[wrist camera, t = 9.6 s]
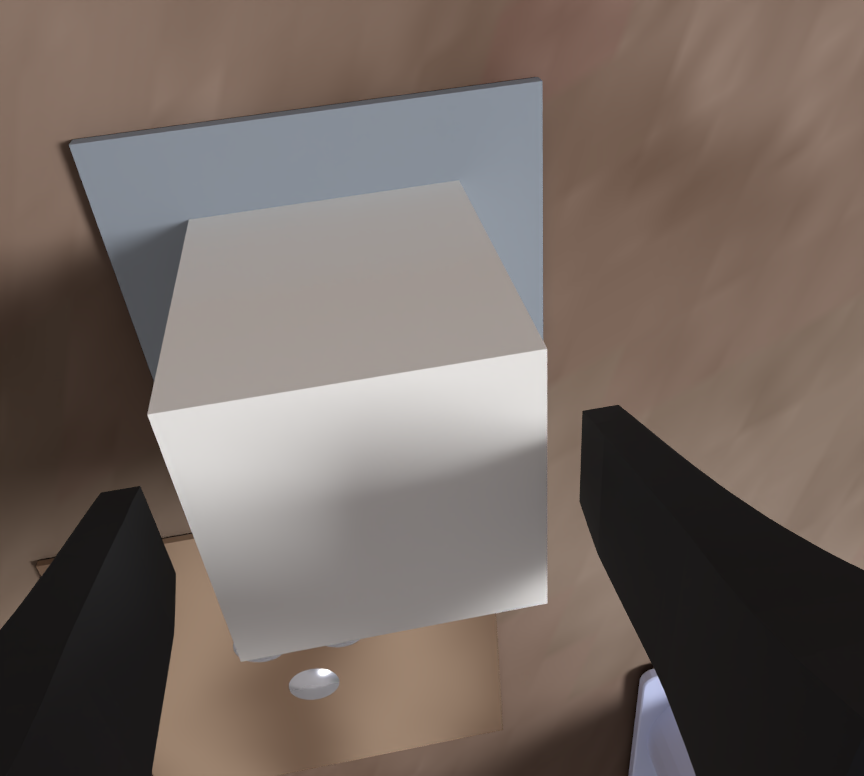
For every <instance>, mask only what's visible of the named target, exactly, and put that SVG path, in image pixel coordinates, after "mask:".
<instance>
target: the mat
mask: <svg viewBox="0 0 864 776" xmlns="http://www.w3.org/2000/svg"><path fill="white" fill-rule="evenodd" d="M69 147H70V150H71V152H72V155H73V158H74V161H75V163H76V166H77V169H78V172H79V175H80V177H81V180H82V183H83V186H84V188H85V191H86V194H87V197H88V200H89V202H90V205H91V208H92V211H93V214H94V216H95V219H96V222H97V225H98V227H99V230H100V233H101V236H102V239H103V241H104V244H105V247H106V250H107V252H108V255H109V258H110V261H111V264H112V266H113V269H114V272H115V275H116V277H117V280H118V283H119V286H120V289H121V291H122V294H123V297H124V300H125V302H126V305H127V308H128V311H129V314H130V316H131V319H132V322H133V325H134V327H135V330H136V333H137V336H138V339H139V341H140V344H141V347H142V350H143V352H144V355H145V358H146V361H147V364H148V366H149V369H150V372H151V375H152V378H153V380H154V381H155V376H156V371H157V367H158V362H159V357H160V353H161V348H162V343H163V339H164V334H165V329H166V324H167V320H168V315H169V310H170V306H171V301H172V296H173V292H174V287H175V282H176V278H177V273H178V268H179V264H180V259H181V254H182V250H183V245H184V240H185V235H186V231H187V226H188V221H189V220H190V219H197V218H204V217H211V216H218V215H225V214H232V213H238V212H245V211H252V210H259V209H266V208H273V207H279V206H286V205H293V204H300V203H307V202H314V201H321V200H327V199H334V198H341V197H348V196H355V195H362V194H369V193H375V192H382V191H389V190H396V189H403V188H410V187H417V186H423V185H430V184H437V183H444V182H451V181H458V180H459V181H460V183H461V185H462V187H463V189H464V191H465V193H466V195H467V197H468V198H469V200H470V202H471V204H472V206H473V208H474V210H475V212H476V214H477V216H478V218H479V219H480V221H481V223H482V225H483V227H484V229H485V231H486V233H487V235H488V237H489V239H490V241H491V242H492V244H493V246H494V248H495V250H496V252H497V254H498V256H499V258H500V260H501V262H502V263H503V265H504V267H505V269H506V271H507V273H508V275H509V277H510V279H511V281H512V283H513V285H514V286H515V288H516V290H517V292H518V294H519V296H520V298H521V300H522V302H523V304H524V306H525V308H526V309H527V311H528V313H529V315H530V317H531V319H532V321H533V323H534V325H535V327H536V329H537V330H538V332H539V334H540V336H541V338H542V340H543V152H542V80H541V79H540V78H539V77H534V78H527V79H519V80H512V81H504V82H497V83H490V84H482V85H475V86H467V87H460V88H452V89H445V90H438V91H430V92H423V93H415V94H408V95H401V96H393V97H386V98H378V99H371V100H363V101H356V102H349V103H341V104H334V105H326V106H319V107H312V108H304V109H297V110H289V111H282V112H274V113H267V114H260V115H252V116H245V117H237V118H230V119H223V120H215V121H208V122H200V123H193V124H185V125H178V126H171V127H163V128H156V129H148V130H141V131H133V132H126V133H119V134H111V135H104V136H96V137H89V138H82V139H74V140H72V141H71V142H70V144H69Z"/></svg>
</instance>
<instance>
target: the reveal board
mask: <svg viewBox="0 0 864 776" xmlns="http://www.w3.org/2000/svg"><path fill="white" fill-rule="evenodd" d="M162 540H163V543H164V545H165V548H166V550H167V553H168V555H169V557H170V560H171V562H172V565H173V567H174V570H175V572H176V603H175V629H174V638H173V645H172V651H171V658H170V664H169V670H168V677H167V683H166V689H165V695H164V701H163V707H162V713H161V719H160V725H159V731H158V737H157V743H156V749H155V755H154V762H153V768H152V773H153V775H154V776H278V775H283V774H288V773H293V772H298V771H303V770H308V769H313V768H318V767H323V766H328V765H332V764H337V763H342V762H347V761H352V760H357V759H362V758H367V757H372V756H377V755H382V754H387V753H392V752H397V751H402V750H406V749H411V748H416V747H421V746H426V745H431V744H436V743H441V742H446V741H451V740H456V739H461V738H466V737H471V736H475V735H480V734H485V733H490V732H495V731H500V730H503V724H502V707H501V689H500V672H499V655H498V638H497V621H496V613H494V614H489V615H483V616H478V617H473V618H468V619H463V620H457V621H452V622H447V623H442V624H436V625H431V626H426V627H421V628H415V629H410V630H405V631H400V632H395V633H389V634H384V635H379V636H374V637H368V638H363V639H358V640H353V641H348V642H342V643H337V644H332V645H327V646H321V647H316V648H311V649H306V650H301V651H295V652H290V653H285V654H280V655H274V656H269V657H264V658H259V659H254V660H248V661H243V662H241V661H240V658H239V655H238V653H237V650H236V647H235V645H234V642H233V639H232V637H231V634H230V632H229V629H228V626H227V624H226V621H225V618H224V616H223V613H222V610H221V608H220V605H219V603H218V600H217V597H216V595H215V592H214V589H213V587H212V584H211V581H210V579H209V576H208V574H207V571H206V568H205V566H204V563H203V560H202V558H201V555H200V552H199V550H198V547H197V545H196V542H195V539H194V537H193V534H187V535H182V536H176V537H170V538H165V539H162ZM53 560H54V558H51V559H46V560H40V561H38V562H37V565H36V568H37V569H38V571H39V573H40V575H41V576H42V575H43V573H44V572H45V571H46V569H47V568H48V567H49V565H50V564H51V563H52V561H53Z"/></svg>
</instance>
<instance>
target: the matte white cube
mask: <svg viewBox="0 0 864 776" xmlns="http://www.w3.org/2000/svg"><path fill="white" fill-rule="evenodd" d="M147 415H148V418H149V421H150V423H151V426H152V429H153V431H154V434H155V436H156V439H157V442H158V444H159V447H160V450H161V452H162V455H163V458H164V460H165V463H166V465H167V468H168V471H169V473H170V476H171V479H172V481H173V484H174V487H175V489H176V492H177V494H178V497H179V500H180V502H181V505H182V508H183V510H184V513H185V516H186V518H187V521H188V523H189V526H190V529H191V531H192V534H193V537H194V539H195V542H196V545H197V547H198V550H199V552H200V555H201V558H202V560H203V563H204V566H205V568H206V571H207V574H208V576H209V579H210V581H211V584H212V587H213V589H214V592H215V595H216V597H217V600H218V603H219V605H220V608H221V610H222V613H223V616H224V618H225V621H226V624H227V626H228V629H229V632H230V634H231V637H232V639H233V642H234V645H235V647H236V650H237V653H238V655H239V658H240V661H241V662H243V661H248V660H254V659H259V658H264V657H269V656H274V655H280V654H285V653H290V652H295V651H301V650H306V649H311V648H316V647H321V646H327V645H332V644H337V643H342V642H348V641H353V640H358V639H363V638H368V637H374V636H379V635H384V634H389V633H395V632H400V631H405V630H410V629H415V628H421V627H426V626H431V625H436V624H442V623H447V622H452V621H457V620H463V619H468V618H473V617H478V616H483V615H489V614H494V613H499V612H504V611H510V610H515V609H520V608H525V607H530V606H536V605H541V604H546V603H547V348H546V346H545V344H544V342H543V340H542V338H541V336H540V334H539V332H538V330H537V329H536V327H535V325H534V323H533V321H532V319H531V317H530V315H529V313H528V311H527V309H526V308H525V306H524V304H523V302H522V300H521V298H520V296H519V294H518V292H517V290H516V288H515V286H514V285H513V283H512V281H511V279H510V277H509V275H508V273H507V271H506V269H505V267H504V265H503V263H502V262H501V260H500V258H499V256H498V254H497V252H496V250H495V248H494V246H493V244H492V242H491V241H490V239H489V237H488V235H487V233H486V231H485V229H484V227H483V225H482V223H481V221H480V219H479V218H478V216H477V214H476V212H475V210H474V208H473V206H472V204H471V202H470V200H469V198H468V197H467V195H466V193H465V191H464V189H463V187H462V185H461V183H460V181H459V180H458V181H451V182H444V183H437V184H430V185H423V186H417V187H410V188H403V189H396V190H389V191H382V192H375V193H369V194H362V195H355V196H348V197H341V198H334V199H327V200H321V201H314V202H307V203H300V204H293V205H286V206H279V207H273V208H266V209H259V210H252V211H245V212H238V213H232V214H225V215H218V216H211V217H204V218H197V219H190V220H189V221H188V226H187V231H186V235H185V240H184V245H183V250H182V254H181V259H180V264H179V268H178V273H177V278H176V282H175V287H174V292H173V296H172V301H171V306H170V310H169V315H168V320H167V324H166V329H165V334H164V339H163V343H162V348H161V353H160V357H159V362H158V367H157V371H156V376H155V381H154V385H153V390H152V395H151V399H150V404H149V409H148V413H147Z"/></svg>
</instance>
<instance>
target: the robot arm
mask: <svg viewBox="0 0 864 776" xmlns="http://www.w3.org/2000/svg"><path fill="white" fill-rule="evenodd" d="M580 504H581V507H582V510H583V513H584V516H585V519H586V522H587V525H588V528H589V531H590V533H591V536H592V539H593V542H594V545H595V547H596V550H597V553H598V555H599V557H600V560H601V562H602V564H603V566H604V568H605V570H606V572H607V574H608V576H609V578H610V580H611V582H612V584H613V586H614V588H615V590H616V592H617V594H618V596H619V598H620V600H621V602H622V604H623V607H624V609H625V611H626V613H627V615H628V617H629V619H630V621H631V623H632V625H633V627H634V629H635V631H636V633H637V635H638V637H639V639H640V641H641V643H642V645H643V647H644V649H645V651H646V653H647V655H648V657H649V659H650V661H651V663H652V665H653V667H654V669H650V670H648V671H646V672H645V673H644V674H643V675H642V676H641V678H640V682H639V690H638V699H637V707H636V716H635V724H634V733H633V741H632V750H631V758H630V766H629V775H628V776H864V570H862V569H860V568H858V567H856V566H854V565H852V564H850V563H848V562H846V561H844V560H842V559H840V558H838V557H836V556H834V555H832V554H830V553H829V552H827V551H825V550H823V549H821V548H819V547H818V546H816V545H814V544H812V543H811V542H809V541H807V540H805V539H803V538H802V537H800V536H798V535H796V534H795V533H793V532H791V531H789V530H788V529H786V528H784V527H783V526H781V525H779V524H778V523H776V522H774V521H773V520H771V519H770V518H768V517H766V516H765V515H763V514H762V513H760V512H759V511H757V510H756V509H754V508H753V507H751V506H750V505H748V504H747V503H745V502H744V501H742V500H741V499H739V498H738V497H736V496H735V495H733V494H732V493H730V492H729V491H728V490H726V489H725V488H723V487H722V486H720V485H719V484H718V483H716V482H715V481H714V480H712V479H711V478H710V477H708V476H707V475H706V474H704V473H703V472H702V471H700V470H699V469H698V468H696V467H695V466H694V465H693V464H691V463H690V462H689V461H687V460H686V459H685V458H683V457H682V456H681V455H680V454H678V453H677V452H676V451H675V450H673V449H672V448H671V447H670V446H668V445H667V444H666V443H665V442H663V441H662V440H661V439H660V438H659V437H657V436H656V435H655V434H654V433H652V432H651V431H650V430H649V429H648V428H646V427H645V426H644V425H643V424H641V423H640V422H639V421H638V420H637V419H635V418H634V417H633V416H632V415H630V414H629V413H628V412H627V411H625V410H624V409H623V408H622V407H620V406H619V405H615V406H609V407H603V408H597V409H591V410H585V411H583V415H582V445H581V475H580ZM175 603H176V572H175V570H174V567H173V565H172V562H171V560H170V557H169V555H168V553H167V550H166V548H165V545H164V543H163V540H162V538H161V536H160V533H159V531H158V528H157V526H156V523H155V521H154V518H153V516H152V514H151V511H150V509H149V506H148V504H147V501H146V499H145V497H144V494H143V492H142V489H141V487H140V486H138V487H132V488H126V489H120V490H114V491H108V492H102V493H101V494H100V495H99V496H98V498H97V499H96V500H95V502H94V503H93V504H92V506H91V507H90V508H89V510H88V511H87V513H86V514H85V515H84V517H83V518H82V520H81V521H80V523H79V524H78V525H77V527H76V528H75V530H74V531H73V533H72V534H71V536H70V537H69V538H68V540H67V541H66V543H65V544H64V546H63V547H62V548H61V550H60V551H59V553H58V554H57V555H56V557H55V558H54V560H53V561H52V563H51V564H50V565H49V567H48V568H47V569H46V571H45V572H44V573H43V575H42V576H41V578H40V579H39V580H38V582H37V583H36V584H35V586H34V587H33V588H32V590H31V591H30V592H29V594H28V595H27V597H26V598H25V599H24V601H23V602H22V603H21V605H20V606H19V607H18V608H17V610H16V611H15V612H14V614H13V615H12V616H11V617H10V619H9V620H8V621H7V622H6V623H5V625H4V626H3V627H2V628H1V630H0V776H152V768H153V762H154V755H155V749H156V743H157V737H158V731H159V725H160V719H161V713H162V707H163V701H164V695H165V689H166V683H167V677H168V670H169V664H170V658H171V651H172V645H173V638H174V629H175Z"/></svg>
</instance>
